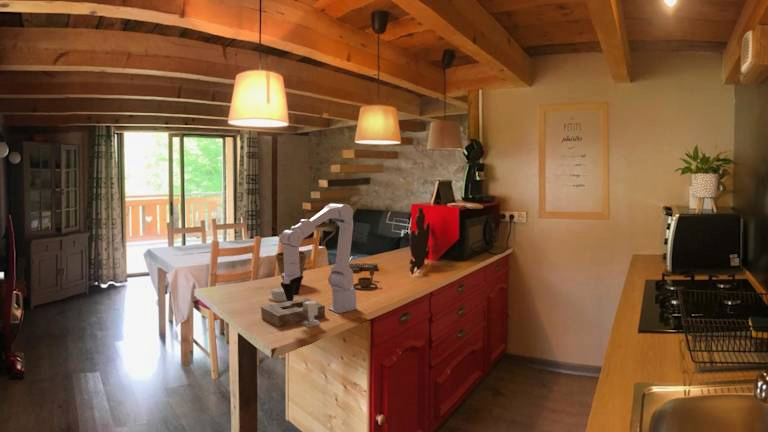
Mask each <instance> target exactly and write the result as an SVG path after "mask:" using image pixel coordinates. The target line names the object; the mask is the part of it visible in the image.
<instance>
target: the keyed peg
mask: <svg viewBox="0 0 768 432" xmlns="http://www.w3.org/2000/svg"><path fill="white" fill-rule="evenodd" d="M314 301H315V300H312V301H307V302H303V314H304V315H306V316H307V320H304V321H301V322H300V323H301V325H302V326H304V327H306V328H312V327H315V326H319V325H320V323H321V322H320V320H317V319H314V315H318V306H317V303H318V302H317V301H315V302H314Z"/></svg>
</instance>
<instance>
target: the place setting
mask: <svg viewBox="0 0 768 432" xmlns="http://www.w3.org/2000/svg"><path fill="white" fill-rule="evenodd" d="M368 272H369V276H370V277H367V276H366V277H359V278H358V279H357V282H356V283H353V286H352V287H353V288H354V289H355V290H357V291H372V290H376V291H379V290H382V289H383V287H379V288H378V284H377V283H375V282H373V279H374V277H373V276H374V275H375V270H374V269H370V270H369V271H368ZM371 286H373V287H371Z"/></svg>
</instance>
